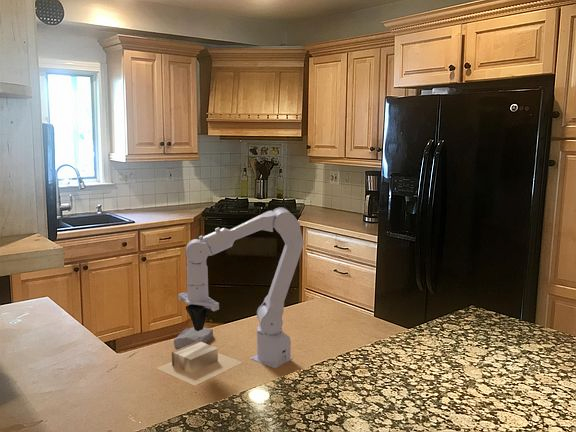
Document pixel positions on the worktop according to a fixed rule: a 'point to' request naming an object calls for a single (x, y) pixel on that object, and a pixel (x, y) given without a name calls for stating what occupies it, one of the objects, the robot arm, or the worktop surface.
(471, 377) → the worktop surface
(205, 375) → the beige square board
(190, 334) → the stone block
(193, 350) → the maple block
